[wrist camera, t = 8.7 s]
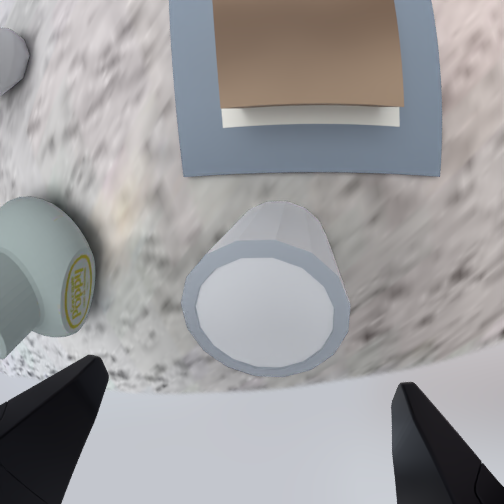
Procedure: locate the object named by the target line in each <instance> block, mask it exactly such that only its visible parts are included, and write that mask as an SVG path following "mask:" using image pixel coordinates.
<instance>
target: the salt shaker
mask: <svg viewBox="0 0 504 504" xmlns="http://www.w3.org/2000/svg"><path fill="white" fill-rule="evenodd" d="M29 57H30V55H29V52H28V49H27V46H26V43H25V40H24V39H23V38H22V37H20V36H19V35H18V34H17V33H15V32H14V31H13V30H11V29H9V28H0V96H1V95H3V94H4V93H5V92H6V91H8V90H9V89H11V88H12V87H13V86H14V85H16V84H17V83H18V82H19V81H20V80H22V79H23V77H24V74H25V70H26V67H27V63H28V60H29Z"/></svg>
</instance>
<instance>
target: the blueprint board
mask: <svg viewBox="0 0 504 504" xmlns="http://www.w3.org/2000/svg"><path fill="white" fill-rule="evenodd" d="M394 3H395V10H396V16H397V24H398V31H399V40H400V49H401V60H402V73H403V90H404V107H370V106H344V105H299V106H272V107H255V108H242V109H221V108H220V96H219V84H218V72H217V59H216V46H215V32H214V18H213V4H212V0H169V13H170V33H171V50H172V65H173V78H174V90H175V101H176V112H177V122H178V132H179V141H180V150H181V159H182V167H183V175H184V177H192V176H207V175H224V174H245V173H277V172H356V173H387V174H407V175H423V176H437V177H440V168H441V148H442V96H441V76H440V63H439V52H438V43H437V34H436V27H435V20H434V14H433V8H432V2H431V0H394Z"/></svg>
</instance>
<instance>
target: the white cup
mask: <svg viewBox="0 0 504 504" xmlns="http://www.w3.org/2000/svg"><path fill="white" fill-rule="evenodd" d="M181 305H182V309H183V313H184V317H185V321H186V325H187V329H188V330H189V331H190V333H191V334H192V335H193V337H194V338H195V339H196V341H197V342H198V344H199V345H200V346H201V347H202V349H203V350H204V351H205V352H207V353H208V354H209V355H211V356H212V357H214V358H215V359H217V360H218V361H220V362H221V363H222V364H224V365H225V366H227V367H229V368H232V369H235V370H238V371H241V372H244V373H248V374H251V375H254V376H270V377H285V376H289V375H293V374H297V373H301V372H305V371H308V370H312V369H313V368H315V367H316V366H318V365H319V364H321V363H322V362H323V361H325V360H326V359H328V358H329V357H331V356H332V355H334V353H335V352H336V350H337V349H338V347H339V346H340V344H341V342H342V341H343V339H344V338H345V336H346V334H347V333H348V327H349V316H350V302H349V299H348V296H347V293H346V290H345V287H344V284H343V281H342V278H341V275H340V272H339V269H338V266H337V263H336V261H335V258H334V255H333V252H332V249H331V247H330V244H329V241H328V238H327V236H326V234H325V232H324V229H323V227H322V225H321V223H320V221H319V220H318V219H317V218H316V217H315V216H314V215H313V214H312V213H310V212H309V211H308V210H307V209H306V208H305V207H302V206H299V205H296V204H293V203H291V202H288V201H270V202H264V203H262V204H260V205H258V206H256V207H254V208H251V209H249V210H248V211H247V212H246V213H245V214H244V215H243V216H242V217H241V218H240V219H239V220H238V221H237V222H236V223H235V224H234V225H233V227H232V228H231V229H230V230H229V231H228V232H227V233H226V234H225V235H224V236H223V237H222V238H221V239H220V240H219V241H218V242H217V243H216V244H215V245H214V246H213V247H212V248H211V249H210V250H209V251H208V252H207V254H206V255H205V256H204V257H203V258H202V259H201V260H200V262H199V263H198V264H197V265H196V266H195V268H194V269H193V270H192V271H191V272H190V273H189V275H188V276H187V277H186V282H185V286H184V291H183V295H182V300H181Z"/></svg>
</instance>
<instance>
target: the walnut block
mask: <svg viewBox="0 0 504 504" xmlns="http://www.w3.org/2000/svg"><path fill="white" fill-rule="evenodd" d="M212 4H213V18H214V32H215V46H216V59H217V72H218V84H219V96H220V108H221V109H242V108H255V107H272V106H299V105H344V106H370V107H404V90H403V73H402V60H401V49H400V40H399V31H398V24H397V16H396V10H395V3H394V0H212Z"/></svg>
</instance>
